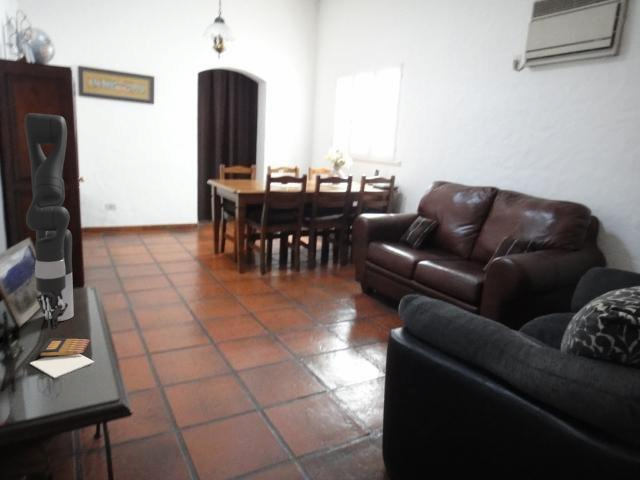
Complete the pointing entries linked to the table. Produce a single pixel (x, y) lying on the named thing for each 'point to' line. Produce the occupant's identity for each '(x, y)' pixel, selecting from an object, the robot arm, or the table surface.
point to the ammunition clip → (63, 347)
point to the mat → (61, 364)
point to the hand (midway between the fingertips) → (53, 328)
